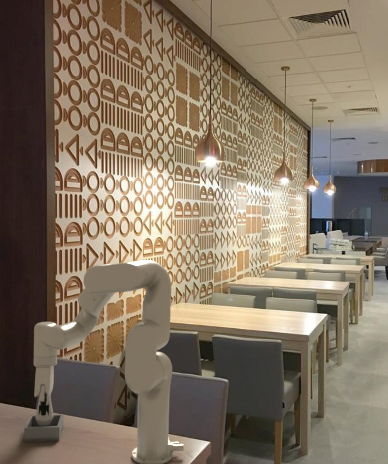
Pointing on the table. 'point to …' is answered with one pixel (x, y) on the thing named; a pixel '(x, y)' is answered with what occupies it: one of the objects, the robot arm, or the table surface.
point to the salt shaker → (45, 419)
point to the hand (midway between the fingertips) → (44, 414)
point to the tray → (43, 429)
